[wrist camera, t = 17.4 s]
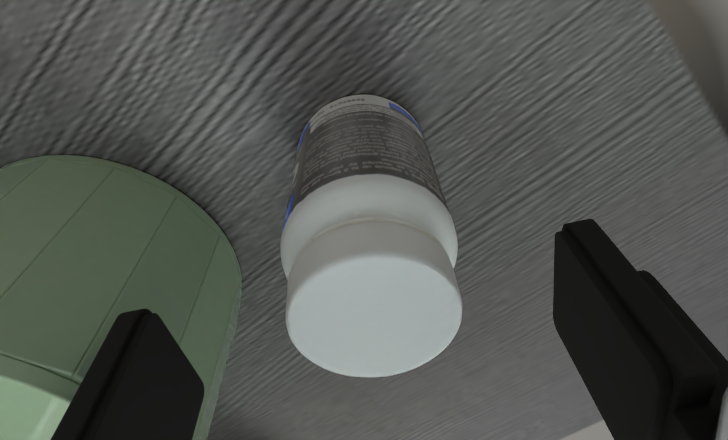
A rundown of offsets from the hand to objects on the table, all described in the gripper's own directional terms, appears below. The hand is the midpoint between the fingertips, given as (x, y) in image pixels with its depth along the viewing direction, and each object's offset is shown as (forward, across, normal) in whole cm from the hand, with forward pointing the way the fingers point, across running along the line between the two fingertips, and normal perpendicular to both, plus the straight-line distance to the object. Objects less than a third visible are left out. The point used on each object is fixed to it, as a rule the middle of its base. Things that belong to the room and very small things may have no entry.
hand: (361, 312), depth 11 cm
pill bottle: (+8, 0, 0) cm, 8 cm away
